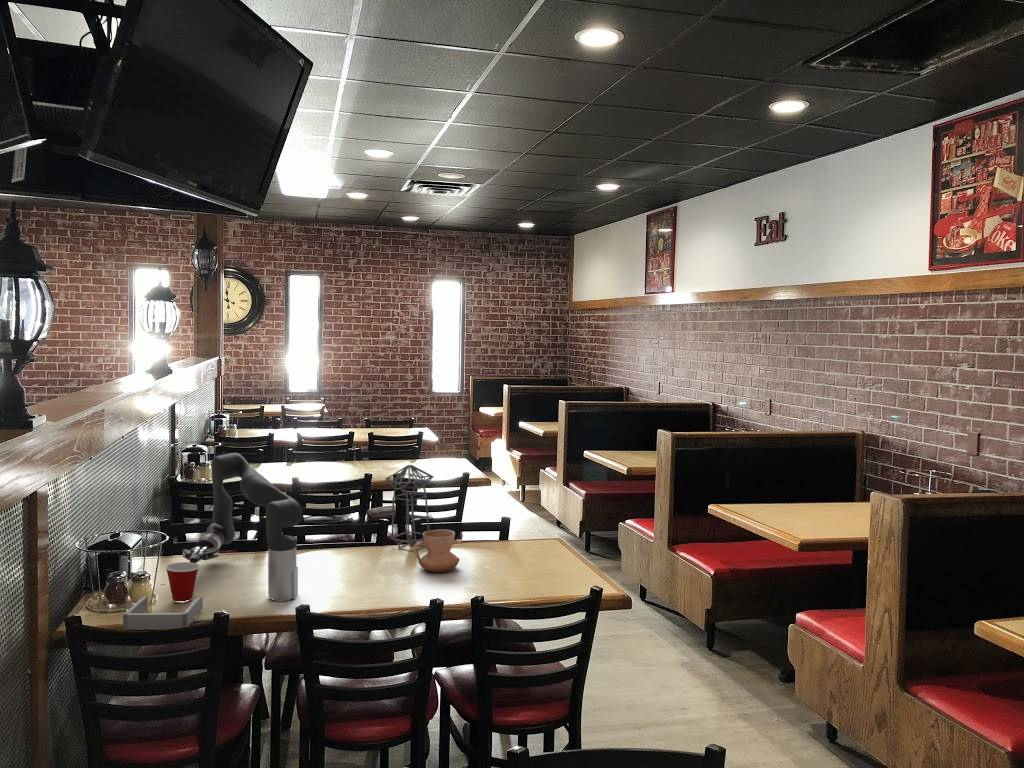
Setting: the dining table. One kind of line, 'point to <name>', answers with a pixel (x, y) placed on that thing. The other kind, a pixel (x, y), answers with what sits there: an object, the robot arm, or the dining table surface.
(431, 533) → the ceramic jug
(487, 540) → the dining table surface
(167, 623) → the box
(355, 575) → the dining table surface
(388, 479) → the geometric lantern
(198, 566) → the plastic cup
